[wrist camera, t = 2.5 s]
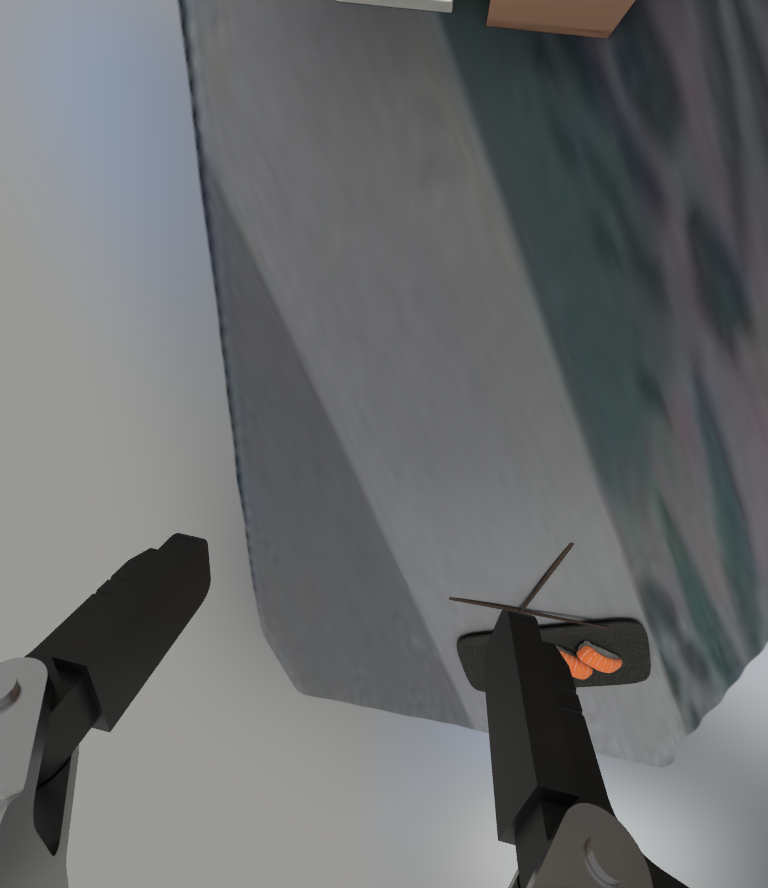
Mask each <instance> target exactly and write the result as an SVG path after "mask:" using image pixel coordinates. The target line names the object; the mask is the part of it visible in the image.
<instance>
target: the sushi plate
mask: <svg viewBox="0 0 768 888" xmlns="http://www.w3.org/2000/svg"><path fill="white" fill-rule="evenodd" d="M573 545H574V543H570V544H569V545H568V546H567V547H566V548H565V550H564V551H563V552H562V553H561V554H560V556H559V557H558V558H557V559H556V561H555V562H554V563H553V564H552V565H551V567H550V568H549V569H548V571H547V572H546V574H545V575H544V576H543V578H542V579H541V581H540V582H539V584H538V585H537V587H536V588H535V589H534V591H533V592H532V594H531V595H530V597H529V598H528V600H527V601H526V602H525V604H524V605H523V607H522V608H521V609H518V608H513V607H508V606H504V605H499V604H494V603H489V602H482V601H475V600H468V599H461V598H453V597H450V598H449V599H450V600H454V601H460V602H465V603H470V604H476V605H481V606H486V607H492V608H497V609H506V610H511V611H515V612H519V613H525V614H531V615H536V616H542V617H547V618H552V619H557V620H562V621H568V622H573V623H578V624H579V625H569V626H559V627H549V628H539V630H540V634H541V638H542V641H544V642H549V643H553V644H555V645H556V647H557V648H558V650H559V651H560V653H561V654H562V656H563V657H564V659H565V661H566V662H567V664H568V665H569V667H570V671H571V674H572V677H573V681H574V684H575V687H590V686H607V685H621V684H631V683H638V682H641V681H644V680H646V679H647V678H648V677H649V675H650V669H651V663H650V651H649V643H648V637H647V633H646V631H645V629H644V627H643V626H642V625H641V624H639V623H637V622H633V621H611V622H599V623H587V622H582V621H577V620H572V619H567V618H562V617H557V616H552V615H547V614H542V613H537V612H532V611H527V610H524V609H525V608H526V607H527V605H528V604H529V603H530V602H531V600H532V599H533V598H534V596H535V595H536V594H537V592H538V591H539V590H540V589H541V587H542V586H543V585H544V583H545V582H546V581H547V579H548V578H549V577H550V575H551V574H552V573H553V571H554V570H555V569H556V568H557V566H558V565H559V564H560V562H561V561H562V560H563V558H564V557H565V556H566V554H567V553H568V552H569V550H570V549H571V547H572V546H573ZM491 635H492V633H489V634H481V635H473V636H468V637H465V638H462V639H461V640H459V641H458V644H457V651H458V655H459V658H460V661H461V663H462V666H463V669H464V671H465V674H466V676H467V678H468V680H469V682H470V684H471V685H472V686H473V687H474V688H475V689H476V690H479V691H484V692H485V680H484V656H485V651H486V647H487V644H488V642H489V639H490V637H491Z"/></svg>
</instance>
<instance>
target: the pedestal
mask: <svg viewBox="0 0 768 888" xmlns="http://www.w3.org/2000/svg"><path fill="white" fill-rule="evenodd" d="M336 1H339V2H349V3H359V4H369V5H379V6H389V7H399V8H408V9H418V10H428V11H438V12H448V13H452V8H453V2H454V0H336Z"/></svg>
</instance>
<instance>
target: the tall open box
mask: <svg viewBox="0 0 768 888" xmlns="http://www.w3.org/2000/svg"><path fill="white" fill-rule="evenodd" d="M634 2H635V0H490V6H489V12H488V18H487V23H486V26H491V27H500V28H510V29H520V30H529V31H539V32H549V33H559V34H568V35H578V36H588V37H597V38H608V37H609V36H610V34H611V33H612V32H613V30H614V29H615V27H616V26H617V25H618V23H619V22H620V21H621V19H622V18H623V17H624V15H625V14H626V12H627V11H628V10H629V8H630V7H631V6H632V4H633V3H634Z"/></svg>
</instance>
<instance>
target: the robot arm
mask: <svg viewBox="0 0 768 888" xmlns="http://www.w3.org/2000/svg"><path fill="white" fill-rule="evenodd" d="M210 580H211V577H210V565H209V553H208V543H207V541H206V540H205V539H202V538H198V537H194V536H189V535H185V534H180V533H176V534H174V535H172V536H171V537H170V538H169V539H168V540H167V541H166V542H165V543H164V544H163V545H162V546H161V547H160V548H159V549H158V550H156V549H152V548H150V549H148V550H146V551H144V552H143V553H141V554H139V555H137V556H135V557H134V558H132V559H130V560H128V561H127V562H126V563H125V564H124V565H123V566H122V567H121V568H120V569H119V570H118V571H117V572H116V573H114V574H113V575H112V576H111V579H110V580H107V581H106V582H105V583H104V584H103V585H102V586H101V587H100V588H99V589H98V590H97V592H96V593H95V594H92V595H91V596H90V597H89V598H88V599H87V600H86V601H85V602H84V603H83V604H82V605H81V606H80V607H79V608H78V609H76V610H75V611H74V612H73V613H72V614H71V615H70V616H69V617H68V618H67V619H66V620H65V621H64V622H63V623H62V624H60V625H59V626H58V627H57V628H56V629H55V630H54V631H53V632H52V633H51V634H50V635H49V636H48V637H47V638H46V639H45V640H44V641H43V642H41V643H40V644H39V645H38V646H37V647H36V648H35V649H34V650H33V651H32V652H30V653H29V654H28V655H26V656H25V657H23V658H15V659H11V660H7V661H4V662H1V663H0V888H68V878H67V870H66V855H67V854H66V853H67V845H68V837H69V829H70V821H71V812H72V803H73V796H74V788H75V779H76V772H77V764H78V755H79V743H80V742H81V740H82V739H83V738H84V737H85V735H86V734H87V732H88V731H89V730H90V729H91V727H92V728H96V729H99V730H104V731H107V732H110V731H111V730H112V729H113V727H114V726H115V724H116V723H117V722H118V720H119V719H120V717H121V716H122V715H123V713H124V712H125V710H126V709H127V708H128V706H129V705H130V703H131V702H132V701H133V699H134V698H135V696H136V695H137V694H138V692H139V691H140V689H141V688H142V687H143V685H144V684H145V682H146V681H147V680H148V678H149V677H150V675H151V674H152V673H153V671H154V670H155V668H156V667H157V666H158V664H159V663H160V661H161V660H162V659H163V657H164V655H165V654H166V653H167V652H168V650H169V649H170V647H171V646H172V645H173V643H174V642H175V640H176V639H177V638H178V636H179V635H180V633H181V632H182V630H183V629H184V628H185V626H186V625H187V624H188V622H189V621H190V619H191V618H192V617H193V615H194V614H195V612H196V611H197V610H198V608H199V607H200V605H201V604H202V603H203V601H204V599H205V597H206V595H207V593H208V590H209V587H210ZM484 680H485V692H486V703H487V715H488V727H489V738H490V750H491V762H492V773H493V785H494V797H495V809H496V820H497V833H498V840H499V841H502V842H506V843H509V844H513V845H516V853H517V862H518V870H517V871H516V873H515V875H514V877H513V879H512V881H511V883H510V885H509V887H508V888H689V887H687V886H686V885H684V884H683V883H681V882H680V881H678V880H677V879H675V878H673V877H672V876H671V875H669V874H668V873H666V872H664V871H663V870H661V869H660V868H659V867H658V866H656V865H655V864H654V863H652V862H651V861H650V860H649V859H648V858H647V857H646V856H644V854H643V853H642V852H641V850H640V849H639V847H638V845H637V843H636V842H635V840H634V839H633V837H632V836H631V835H630V833H629V832H628V831H627V829H626V828H625V827H624V826H623V825H622V824H621V823H620V822H619V821H618V820H617V818H616V817H615V814H614V812H613V810H612V807H611V805H610V802H609V799H608V796H607V792H606V789H605V786H604V782H603V779H602V776H601V772H600V769H599V765H598V762H597V759H596V755H595V752H594V748H593V745H592V742H591V738H590V735H589V731H588V728H587V725H586V721H585V718H584V716H582V708H581V704H580V701H579V698H578V695H576V687H575V684H574V681H573V677H572V674H571V671H570V667H569V665H568V664H567V662H566V661H565V659H564V657H563V656H562V654H561V653H560V651H559V650H558V648H557V647H556V645H555V644H553V643H549V642H544V641H542V638H541V634H540V630H539V626H538V622H537V620H536V618H535V617H534V616H532V615H528V614H524V613H519V612H515V611H511V610H506V609H503V610H502V612H501V614H500V616H499V618H498V621H497V623H496V625H495V628H494V630H493V632H492V635H491V637H490V639H489V642H488V644H487V647H486V651H485V656H484Z"/></svg>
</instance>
